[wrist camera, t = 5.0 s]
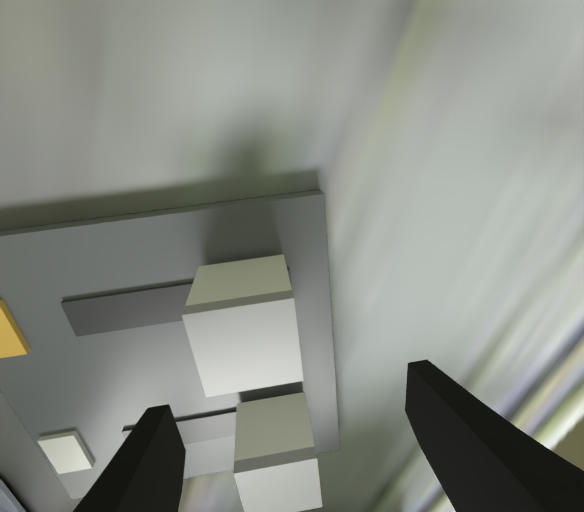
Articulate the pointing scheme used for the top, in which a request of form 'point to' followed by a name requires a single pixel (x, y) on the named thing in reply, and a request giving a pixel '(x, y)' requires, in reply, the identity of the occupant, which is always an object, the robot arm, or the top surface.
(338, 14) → the top surface
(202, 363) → the slider
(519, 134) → the top surface
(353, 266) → the top surface
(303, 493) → the slider
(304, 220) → the switch console
